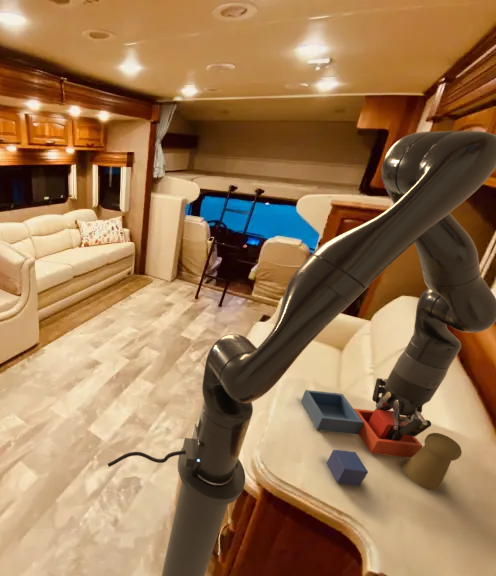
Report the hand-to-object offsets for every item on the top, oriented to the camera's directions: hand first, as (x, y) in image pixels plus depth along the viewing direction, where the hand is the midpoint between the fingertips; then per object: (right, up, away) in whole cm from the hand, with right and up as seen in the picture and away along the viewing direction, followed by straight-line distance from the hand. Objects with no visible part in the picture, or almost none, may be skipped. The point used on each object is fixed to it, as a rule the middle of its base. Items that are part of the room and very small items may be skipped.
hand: (383, 430), depth 75 cm
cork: (+2, -7, -7) cm, 10 cm away
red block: (0, 0, 0) cm, 0 cm away
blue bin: (-9, +1, +6) cm, 11 cm away
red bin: (0, -2, +1) cm, 3 cm away
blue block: (-15, -6, -7) cm, 18 cm away
